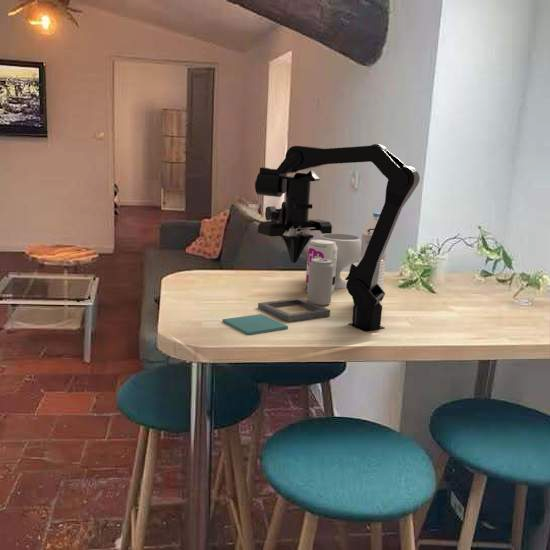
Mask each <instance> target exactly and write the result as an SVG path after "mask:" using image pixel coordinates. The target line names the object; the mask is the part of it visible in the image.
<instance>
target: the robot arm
mask: <svg viewBox="0 0 550 550" xmlns="http://www.w3.org/2000/svg"><path fill="white" fill-rule="evenodd" d="M369 162H370V163H372V164H373V165H374V166H375V167H376V168H377V170H378V171H379V172H380V173H381V174H382V175H383V176H384V178H385V177H386V179H387V183H386V188H385V196H384V197H385V198H384V204H383V207H382V208H381V209H382V210H381V211H380V216H379V219H378V221H377V224H376V226H375V229H374V231H373V234H372V236H371V239H370V241H369V244H368V246H367V249H366V251H365V254H364V256H363V258H362V260H361V261H360V259H359V260H358V261H356V262H354V263H353V264H351V265H350V267H349V272H348V274H347V276H346V277H345V278H344V280H346V281H347V284H346V288H345V289H347V290H346V291H348V294H349V295H350V296H351V298H352V303H353V308H352V309H353V310H352V319H351V320H352V321H351V322H350V323H347V325H348V326H350V327H353V328H355V329H357V330H360V331H362V332H373V331H377V330H378V331H379V330H384V329H386V328H385V327H384V326H383V325H381V323H382V313H383V304H381V305H380V303H379V302H380V301H383V299H384V297H385V296H386V292H385V291H384V289H383V290H382V289H381V287H380V286H379V285H378V284H377V281H378V276H379V268H380V261H381V258H382V256H383V254H384V251H385V249H386V250H387V247H386V246H388V243H389V241H390V239H391V237H392V234H393V232H394V229H395V226H396V224H397V222H398V219H399V217H400V214H401V211H402V210H403V207H404V206H405V204H406V203H407V202H408V200H409V199H410V198H411V196H412V195H413V193H414V191H415V190H416V189H417V186H418V185H419V183H420V179H421V178H420V177H421V176H420V174H419V172H418V170H417V169H416V168H415V167H413V166H410V165H406V163H404V162H402V161H401V160H400V159H399V158H398V157H396V155H394V154H393V153H391V152H390V151H389V150H388V149H387V147H386V146H384V145H382V144H378V143H375V144H371V145H361V146H347V147H346V146H345V147H330V148H325V147H324V148H323V147H318V146H316V147H315V146H308V145H294V146H291V147H289V148H288V149H287V151H286V152H285V158H284V160H283V161H282V162H281V163H280V164H279V165H278V167H277V168H269V167H265V166H264V167H263V166H262V167H260V168H259V173H257V176H256V179H255V181H254V189H255V193H256V195H258V196H263V197H265V196H266V197H274V198H275V197H277V198H281V197H282V195H283V194H285V201H282V202H281V207H280V208H276V206H275V205H274V206H273V205H272V206H266V207H265V211H264V215H265V220H266V221H263V220H262V221H260V222H259V223H258V226H257V233H258V234H261V235H264V236H266V237H267V236H268V237H281V238H282V240H283V241H284V242H285V246H286V249H287V252H288V257H289V259H290V263H293V264H294V263H295V264H296V263H297V261H298V260H299V258H300V256H301V254H302V253H303V251H304V249H305V248H306V246H307V244H309V243H310V242H309V241H311V239H313V238H314V235H312V234H311V232H312V231H314V232H315V231H319V232H320V233H321V235H322V234H333V225H332V223H331V222H330V221H327V220H323V219H309V211H310V209H311V210H312V209H313V203H310V200H311V198H310V197H311V182H318V181H320V177H319V176H318V175H317V174H316V173H315V171H314V170H311V169H316V168H319V167H322V166H327V165H334V164H335V165H336V164H350V163H351V164H352V163H369ZM307 170H309V171H308V172H307V173H306V172H305V173H304V172H303V173H302V172H299V171H307ZM287 174H294V175H293V176H290V175H289V176H288V175H287Z"/></svg>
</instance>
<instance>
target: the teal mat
mask: <svg viewBox="0 0 550 550" xmlns="http://www.w3.org/2000/svg"><path fill="white" fill-rule="evenodd" d="M222 323H224V324H226V325H227V326H230V327H232V328H234V329H235V330H238V331H240V332H241V333H243V334H245V335H247V336H251V335H257V334H263V333H269V332H275V331H282V330H283V331H284V330H288V329H289V326H288V325H286V324H284V323H282V322H279V321H278V320H276V319H273V318H271V317H269V316H267V315H265V314H262V313H257V314H253V315H252V314H251V315H245V316H238V317H237V316H236V317H230V318H222Z"/></svg>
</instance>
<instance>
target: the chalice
mask: <svg viewBox="0 0 550 550" xmlns="http://www.w3.org/2000/svg"><path fill="white" fill-rule="evenodd" d="M318 239H322V240H331V241H334V242H336V246H337V261H336V273H335V286H334V289H347V288H346V284H347V281H348V280H345V279H342V278H341V273H342V271H343V270H345V268H347V267H349V266H351V264H353V263H354V262H356V261H358V260H359V261H360V255H361V244H362V239H361V238H360V237H358V236H357V235H352V234H347V233H346V234H345V233H330V234H322V233H321V234H320V236H319V238H318Z"/></svg>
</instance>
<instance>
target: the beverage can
mask: <svg viewBox="0 0 550 550" xmlns="http://www.w3.org/2000/svg"><path fill="white" fill-rule="evenodd" d="M332 262H333V261H332V260H330V259H324V258H314V259H311V263H310V265H309V279H308V292H306V293H307V294H306V301H308V302H311V303H313V304H316V305H318V306H321V307H324V306H328V305H329V304H331V303H332V294H333V293H332V281H333V269H334V265H333V264H332ZM331 293H332V294H331Z"/></svg>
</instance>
